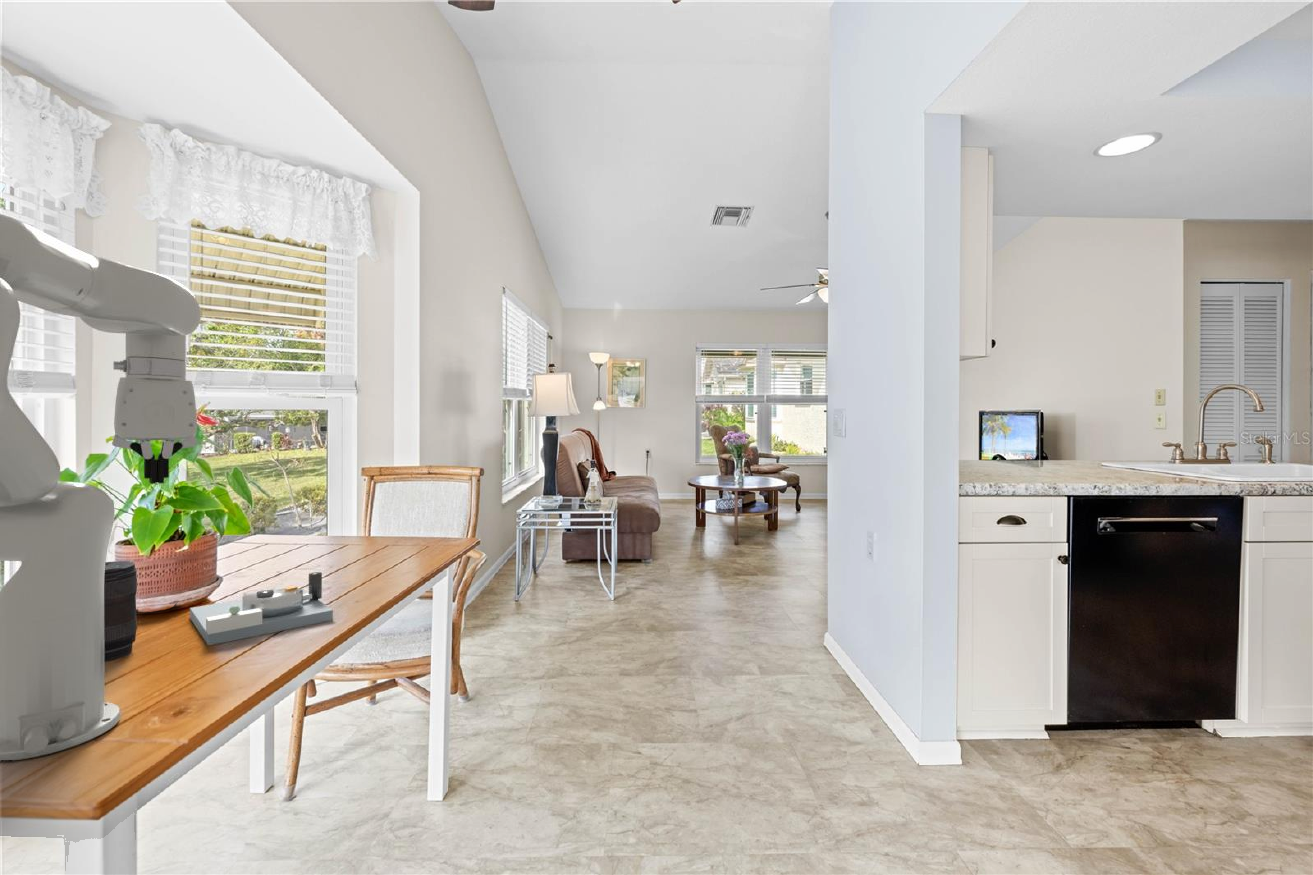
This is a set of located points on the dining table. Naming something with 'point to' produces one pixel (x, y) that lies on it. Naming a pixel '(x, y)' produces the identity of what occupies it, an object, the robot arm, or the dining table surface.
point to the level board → (268, 622)
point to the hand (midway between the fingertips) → (156, 482)
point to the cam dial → (282, 597)
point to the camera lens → (119, 608)
